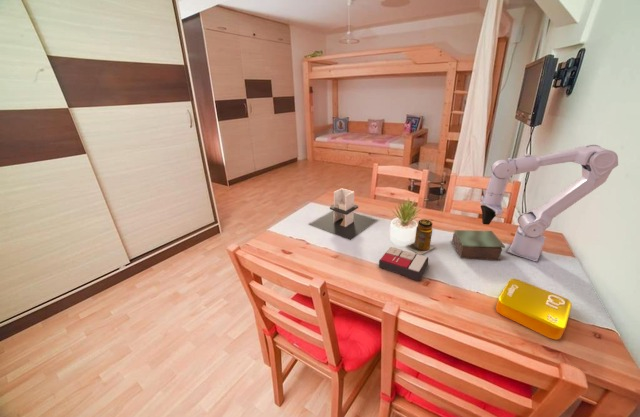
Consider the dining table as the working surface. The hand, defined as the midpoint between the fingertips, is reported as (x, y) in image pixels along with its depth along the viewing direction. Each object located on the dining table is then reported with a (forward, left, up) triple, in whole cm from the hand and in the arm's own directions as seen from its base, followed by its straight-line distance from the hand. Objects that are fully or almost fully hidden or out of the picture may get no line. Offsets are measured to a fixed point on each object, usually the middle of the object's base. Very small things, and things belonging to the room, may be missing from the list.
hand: (485, 223), depth 105 cm
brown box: (+1, +6, -10) cm, 12 cm away
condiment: (+18, +18, -11) cm, 27 cm away
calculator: (+17, +34, -11) cm, 39 cm away
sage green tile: (0, +5, -5) cm, 7 cm away
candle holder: (+57, +21, -11) cm, 61 cm away
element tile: (-21, +29, -11) cm, 37 cm away
